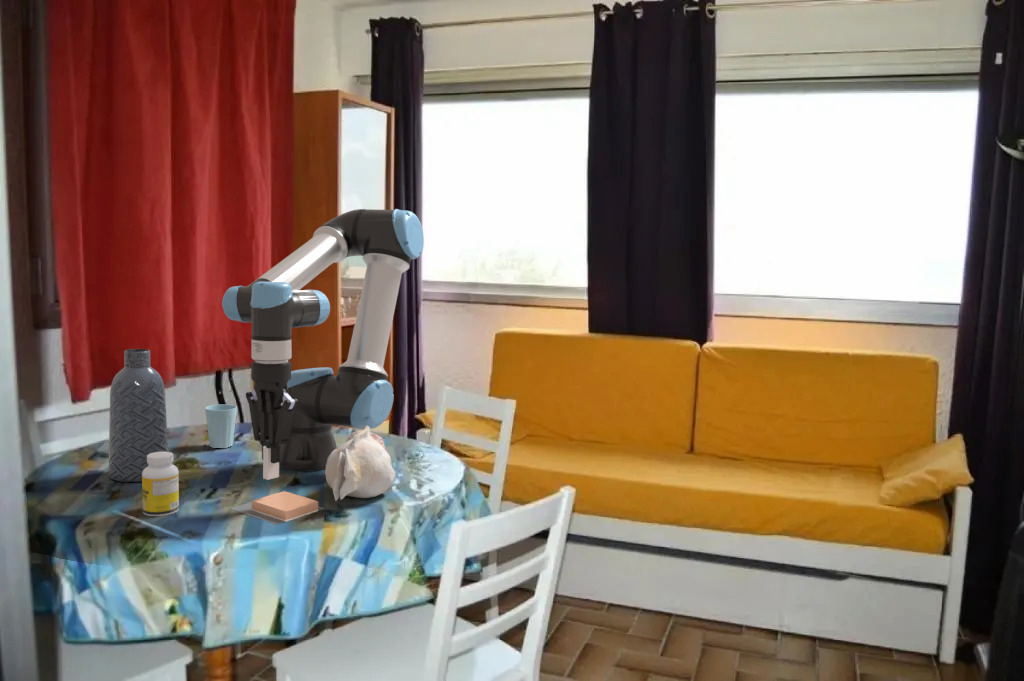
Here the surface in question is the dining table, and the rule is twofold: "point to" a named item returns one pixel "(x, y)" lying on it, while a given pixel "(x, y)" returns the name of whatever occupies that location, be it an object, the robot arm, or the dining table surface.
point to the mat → (248, 510)
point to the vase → (136, 417)
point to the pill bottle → (160, 485)
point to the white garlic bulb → (360, 467)
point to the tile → (285, 506)
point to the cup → (221, 424)
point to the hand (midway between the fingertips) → (271, 477)
